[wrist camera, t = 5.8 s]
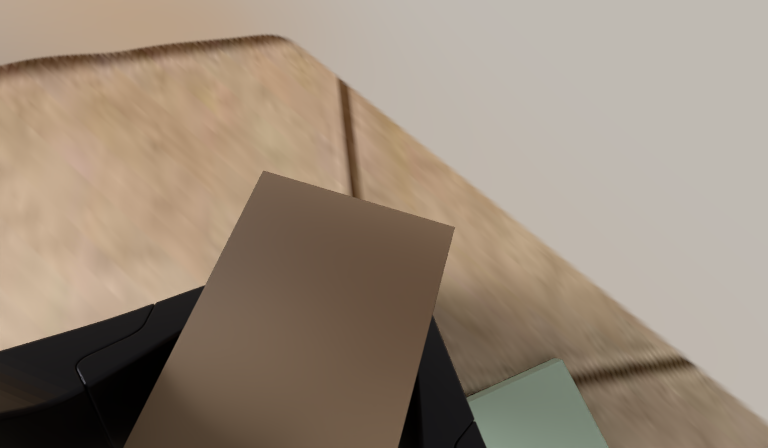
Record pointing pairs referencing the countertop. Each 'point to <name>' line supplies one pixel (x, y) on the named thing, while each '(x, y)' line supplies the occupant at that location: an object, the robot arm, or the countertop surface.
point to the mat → (536, 411)
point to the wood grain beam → (302, 328)
